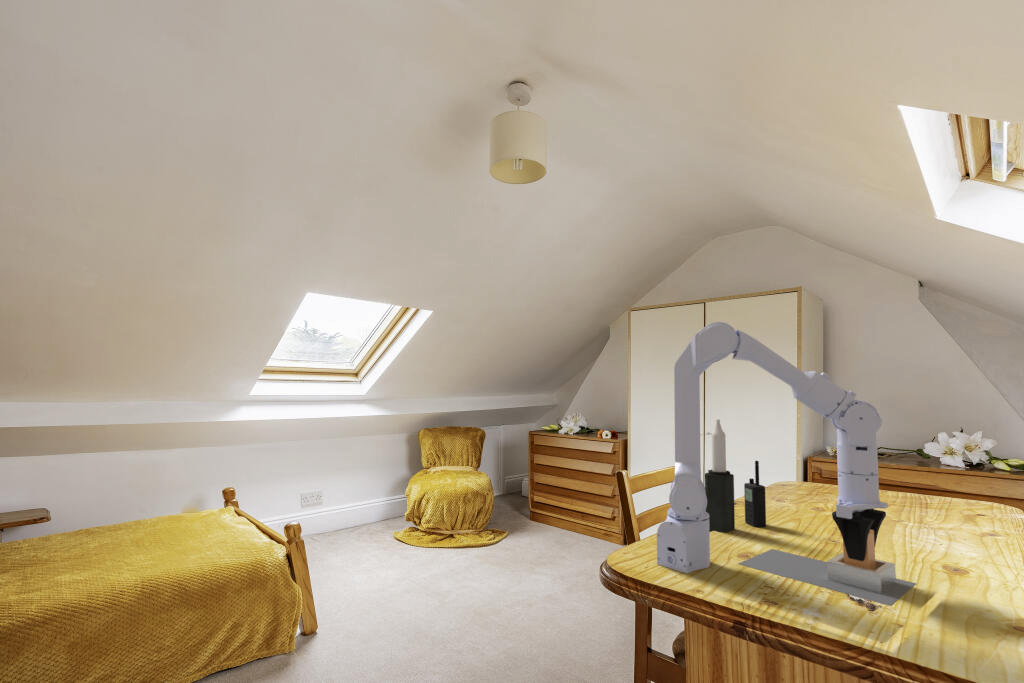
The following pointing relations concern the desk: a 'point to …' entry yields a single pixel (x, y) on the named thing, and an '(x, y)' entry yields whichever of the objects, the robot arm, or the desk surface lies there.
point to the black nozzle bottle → (719, 486)
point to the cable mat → (819, 575)
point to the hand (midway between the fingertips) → (860, 556)
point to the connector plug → (869, 557)
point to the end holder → (862, 574)
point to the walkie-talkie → (755, 501)
